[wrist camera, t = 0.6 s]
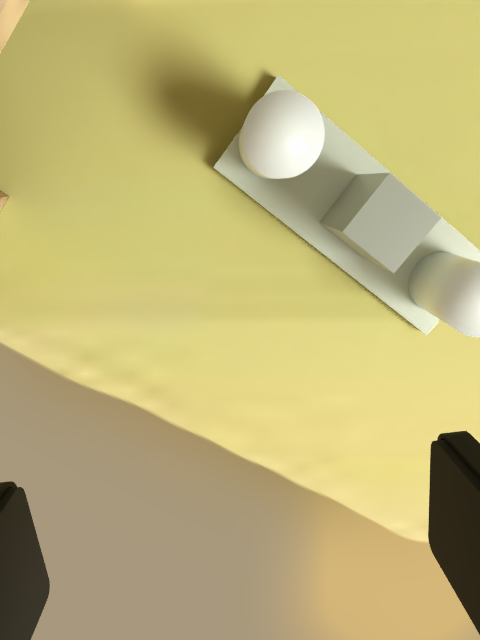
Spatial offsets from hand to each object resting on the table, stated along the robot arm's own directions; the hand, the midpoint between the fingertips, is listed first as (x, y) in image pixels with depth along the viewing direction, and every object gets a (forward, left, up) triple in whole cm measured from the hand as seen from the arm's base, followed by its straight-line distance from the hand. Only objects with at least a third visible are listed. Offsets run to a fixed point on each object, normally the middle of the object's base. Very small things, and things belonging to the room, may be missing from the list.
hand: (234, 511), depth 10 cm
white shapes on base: (-10, +5, -25) cm, 27 cm away
